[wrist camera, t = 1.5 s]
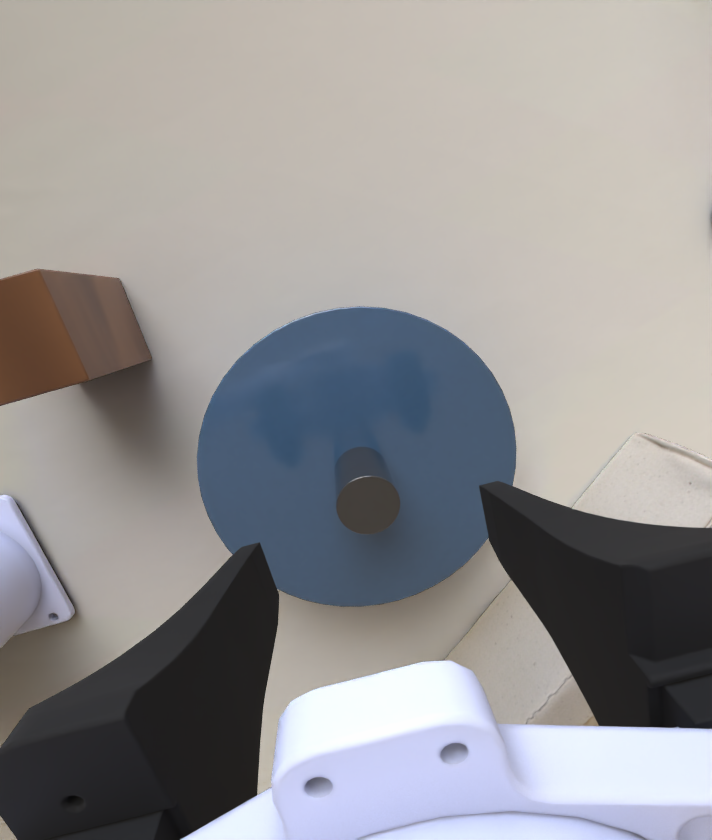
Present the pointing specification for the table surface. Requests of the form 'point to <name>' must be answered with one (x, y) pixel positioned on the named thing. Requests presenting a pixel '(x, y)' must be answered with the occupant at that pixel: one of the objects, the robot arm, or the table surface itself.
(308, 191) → the table surface
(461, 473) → the lid
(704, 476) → the box
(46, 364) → the block
